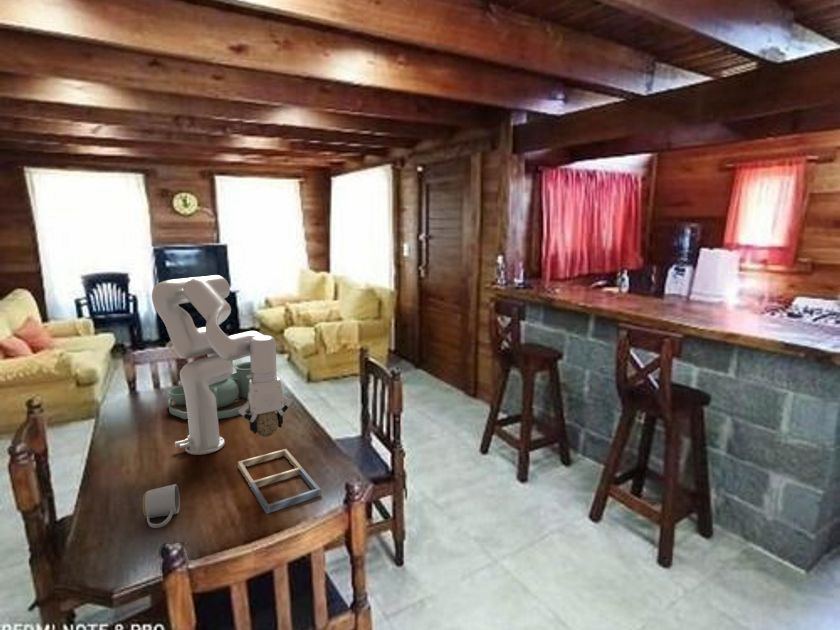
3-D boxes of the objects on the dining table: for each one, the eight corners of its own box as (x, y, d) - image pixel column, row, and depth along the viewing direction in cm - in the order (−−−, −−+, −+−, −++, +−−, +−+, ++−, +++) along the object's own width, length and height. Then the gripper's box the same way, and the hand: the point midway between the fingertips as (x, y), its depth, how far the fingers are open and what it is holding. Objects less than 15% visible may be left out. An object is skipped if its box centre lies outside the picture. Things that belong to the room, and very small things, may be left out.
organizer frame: (266, 514, 132) (265, 507, 131) (238, 467, 156) (237, 461, 155) (321, 495, 140) (320, 489, 140) (286, 454, 165) (286, 448, 164)
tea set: (244, 381, 237) (241, 349, 234) (282, 404, 209) (280, 368, 205) (156, 401, 211) (151, 365, 208) (185, 431, 182) (181, 390, 179)
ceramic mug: (148, 509, 134) (145, 484, 132) (180, 503, 136) (178, 478, 135) (141, 532, 124) (137, 506, 122) (176, 525, 127) (173, 500, 125)
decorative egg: (265, 429, 156) (264, 400, 154) (283, 433, 154) (282, 404, 151) (250, 438, 150) (248, 408, 148) (268, 442, 147) (267, 412, 145)
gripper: (238, 384, 140) (241, 440, 143) (295, 374, 149) (297, 427, 153) (231, 377, 146) (235, 431, 149) (287, 367, 155) (289, 418, 159)
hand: (266, 428), depth 151 cm, fingers closed on decorative egg, 7 cm apart
